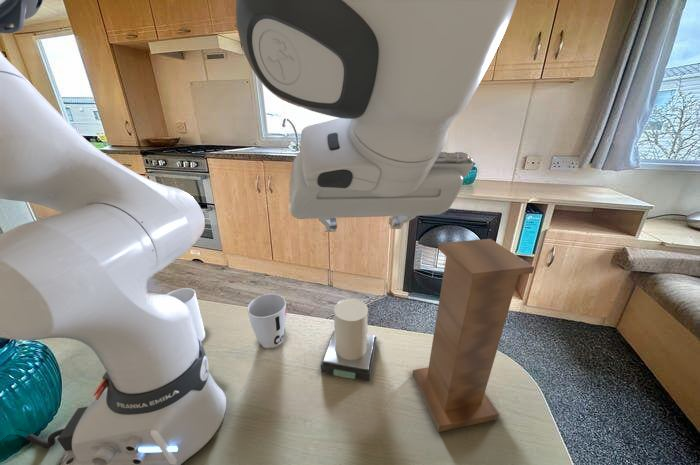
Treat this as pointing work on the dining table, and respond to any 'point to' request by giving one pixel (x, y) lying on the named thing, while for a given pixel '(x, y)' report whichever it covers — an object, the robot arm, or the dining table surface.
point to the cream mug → (351, 328)
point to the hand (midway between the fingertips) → (362, 226)
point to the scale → (349, 361)
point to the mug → (191, 308)
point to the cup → (268, 319)
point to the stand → (468, 331)
